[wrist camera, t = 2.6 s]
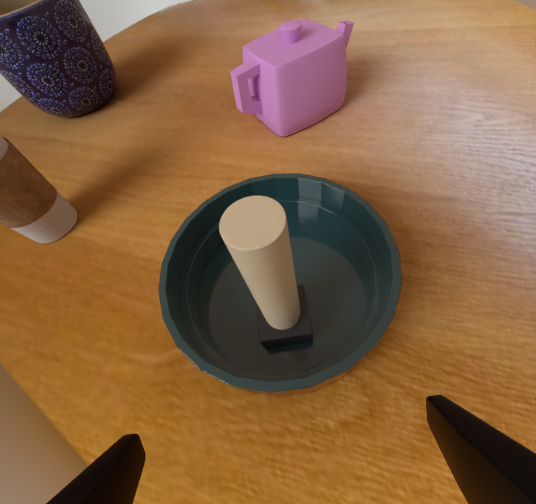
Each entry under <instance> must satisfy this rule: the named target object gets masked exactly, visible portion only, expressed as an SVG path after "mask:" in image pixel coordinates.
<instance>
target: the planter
mask: <svg viewBox="0 0 536 504" xmlns="http://www.w3.org/2000/svg"><path fill="white" fill-rule="evenodd" d="M0 74H1V75H2V76H3V77H4V78H5V79H6V80H7V81H8V82H9V83H10V84H11V85H12V86H13V87H14V88H15V89H16V90H17V91H18V92H19V93H20V94H22V96H24V97H25V98H26V99H27V100H28V101H29V102H30V103H32V104H33V105H34V106H35V107H37V108H39V109H41V110H42V111H44V112H47V113H49V114H52V115H55V116H59V117H75V116H80V115H84V114H87V113H89V112H91V111H93V110H95V109H97V108H99V107H100V106H102V105H103V104H104V103H105V102H106V101H108V100H109V98H110V97H111V96H112V94H113V92H114V90H115V85H116V74H115V69H114V66H113V63H112V61H111V59H110V56H109V54H108V52H107V50H106V48H105V46H104V44H103V42H102V40H101V39H100V37H99V35H98V33H97V31H96V30H95V28H94V26H93V24H92V22H91V21H90V19H89V17H88V15H87V13H86V12H85V10H84V8H83V7H82V5H81V3H80V1H79V0H0Z"/></svg>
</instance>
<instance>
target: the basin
mask: <svg viewBox="0 0 536 504" xmlns="http://www.w3.org/2000/svg"><path fill="white" fill-rule="evenodd" d="M249 196H266V197H270V198H272V199H274V200H276V201H277V202H278V203H279V204H280V205H281V206H282V207H283V209H284V211H285V213H286V218H287V225H288V232H289V238H290V245H291V251H292V258H293V265H294V271H295V278H296V285H304V290H305V296H306V301H307V306H308V311H309V316H310V321H311V326H312V331H313V341H312V342H306V343H299V344H292V345H286V346H279V347H272V348H264V347H263V345H262V344H261V343H260V341H259V332H258V320H257V309H256V300H255V299H254V297H253V295H252V293H251V291H250V289H249V287H248V286H247V284H246V282H245V280H244V278H243V276H242V274H241V272H240V271H239V269H238V267H237V265H236V263H235V261H234V259H233V258H232V256H231V254H230V252H229V250H228V248H227V246H226V244H225V243H224V241H223V239H222V237H221V235H220V231H219V224H220V220H221V217H222V215H223V213H224V212H225V210H226V209H227V208H228V207H229V206H230V205H231V204H233V203H234V202H236V201H238V200H240V199H242V198H245V197H249ZM401 285H402V274H401V264H400V255H399V250H398V247H397V245H396V243H395V241H394V238H393V236H392V234H391V232H390V229H389V227H388V225H387V223H386V222H385V221H384V220H383V219H382V217H381V216H380V215H379V214H378V213H377V211H376V210H375V209H374V208H373V207H372V205H371V204H370V203H368V202H367V201H366V200H364V199H363V198H361V197H360V196H359V195H357V194H356V193H354V192H353V191H352V190H350V189H349V188H347V187H345V186H342V185H340V184H337V183H335V182H333V181H330V180H328V179H325V178H321V177H315V176H310V175H305V174H270V175H265V176H260V177H255V178H250V179H247V180H244V181H242V182H239V183H237V184H234V185H232V186H229V187H227V188H225V189H223V190H222V191H220V192H219V193H217V194H215V195H214V196H212V197H211V198H209V199H207V200H206V201H205V202H203V203H202V204H201V205H200V206H199V207H198V208H197V209H196V210H195V211H194V212H193V213H192V214H190V215H189V216H188V217H187V218H186V219H185V221H184V222H183V224H182V225H181V226H180V228H179V229H178V231H177V232H176V234H175V235H174V237H173V238H172V240H171V242H170V244H169V247H168V249H167V252H166V254H165V257H164V260H163V262H162V265H161V273H160V282H159V290H158V291H159V298H160V304H161V310H162V316H163V320H164V322H165V324H166V326H167V328H168V330H169V332H170V334H171V336H172V338H173V340H174V342H175V344H176V346H177V347H178V348H179V349H180V350H181V351H182V352H183V353H184V354H185V355H186V356H187V357H188V358H189V359H190V360H191V361H192V362H193V363H194V364H195V365H196V366H197V367H198V368H199V369H200V370H201V371H203V372H205V373H207V374H209V375H211V376H213V377H215V378H217V379H218V380H220V381H222V382H224V383H226V384H228V385H230V386H233V387H236V388H239V389H242V390H245V391H248V392H253V393H259V394H265V395H271V396H276V397H285V396H292V395H300V394H307V393H312V392H315V391H317V390H319V389H322V388H324V387H326V386H328V385H330V384H332V383H335V382H337V381H339V380H341V379H342V378H344V377H345V376H346V375H347V374H348V373H349V372H350V371H351V370H352V369H354V368H355V367H356V366H357V365H358V364H359V363H360V362H361V361H363V360H364V359H365V358H366V356H367V355H368V354H369V353H370V352H371V351H372V350H373V349H374V347H375V346H376V345H377V344H378V342H379V341H380V339H381V337H382V335H383V334H384V332H385V330H386V329H387V327H388V325H389V324H390V322H391V320H392V318H393V317H394V315H395V313H396V308H397V304H398V299H399V294H400V290H401Z"/></svg>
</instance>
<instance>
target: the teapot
mask: <svg viewBox="0 0 536 504" xmlns="http://www.w3.org/2000/svg"><path fill="white" fill-rule="evenodd" d="M353 25H354V23H353V22H350V21H344V22H340V23H339V26H338V27H337V29H336V30H334V29H332V28H329V27H327V26H325V25H322V24H319V23H317V22H314V21H311V20H308V19H301V20H289V21H286V22H284V23H282V24H281V25H280V26H279V28H278V29H276V30H274V31H272V32H270V33H267V34H265V35H263V36H261V37H259V38H257V39H255V40H253V41H251V42H249V43H248V44H246V45H245V46H244V47H243V64H242V65H240V66H238V67H237V68H235V69H233V70H231V77H232V83H233V89H234V94H235V100H236V106H237V108H238V109H239V110H240V111H241V112H242V113H248V114H254V115H255V116H256V117H257V118H258V119H259V120H261V121H262V122H263V123H264V124H265V125H266V126H267V127H269V128H270V129H271V130H272V131H273V132H275V133H276V134H278V135H279V136H281V137H285V136H288V135H291V134H293V133H296V132H298V131H300V130H302V129H305V128H307V127H309V126H311V125H313V124H315V123H317V122H319V121H320V120H322V119H324V118H325V117H327V116H329V115H330V114H332V113H333V112H335V111H336V110H338V109H339V108H340V107H341V106H342V105H343V102H344V99H345V96H346V91H347V58H346V47H347V44H348V41H349V37H350V34H351V31H352V28H353Z"/></svg>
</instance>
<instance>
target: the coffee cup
mask: <svg viewBox="0 0 536 504" xmlns="http://www.w3.org/2000/svg"><path fill="white" fill-rule="evenodd" d="M77 218H78V214H77V211H76V209H75V208H74V207H73V206H72V205H71V204H70V203H69V202H68V201H67V200H66V199H65V198H64V197H63V196H62V195H61V194H60V193H59V192H57V191H56V189H55V188H54V187H53V186H52V185H51V184H50V183H49V182H48V181H47V180H46V179H45V178H44V177H43V175H42V174H41V173H40V172H39V171H38V170H37V169H36V168H35V167H34V166H33V165H32V164H31V163H30V162H29V161H28V160H27V159H26V158H25V157H24V156H23V155H22V154H21V153H20V152H19V151H18V150H17V149H16V147H15V146H14V145H13V144H12V143H11V142H10V141H9V140H8V139H6V138H4V137H2V136H1V135H0V223H1V224H3V225H5V226H7V227H9V228H11V229H13V230H15V231H17V232H19V233H21V234H23V235H25V236H27V237H29V238H31V239H32V240H34V241H36V242H39V243H50V242H53V241H56V240H58V239H60V238H61V237H63V236H64V235H66V234H67V233H68V232H69V231H70V230H71V229H72V228H73V226H74V225H75V223H76V221H77Z"/></svg>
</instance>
